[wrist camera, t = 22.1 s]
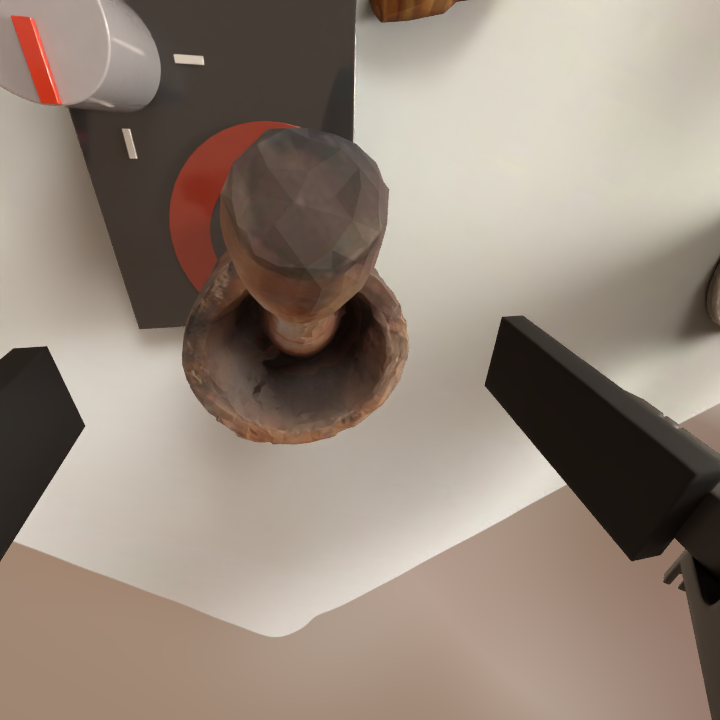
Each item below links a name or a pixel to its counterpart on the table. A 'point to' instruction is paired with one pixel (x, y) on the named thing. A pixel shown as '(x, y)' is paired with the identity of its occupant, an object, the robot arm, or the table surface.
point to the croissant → (408, 9)
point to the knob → (78, 54)
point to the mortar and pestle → (297, 294)
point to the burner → (207, 198)
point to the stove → (209, 118)
